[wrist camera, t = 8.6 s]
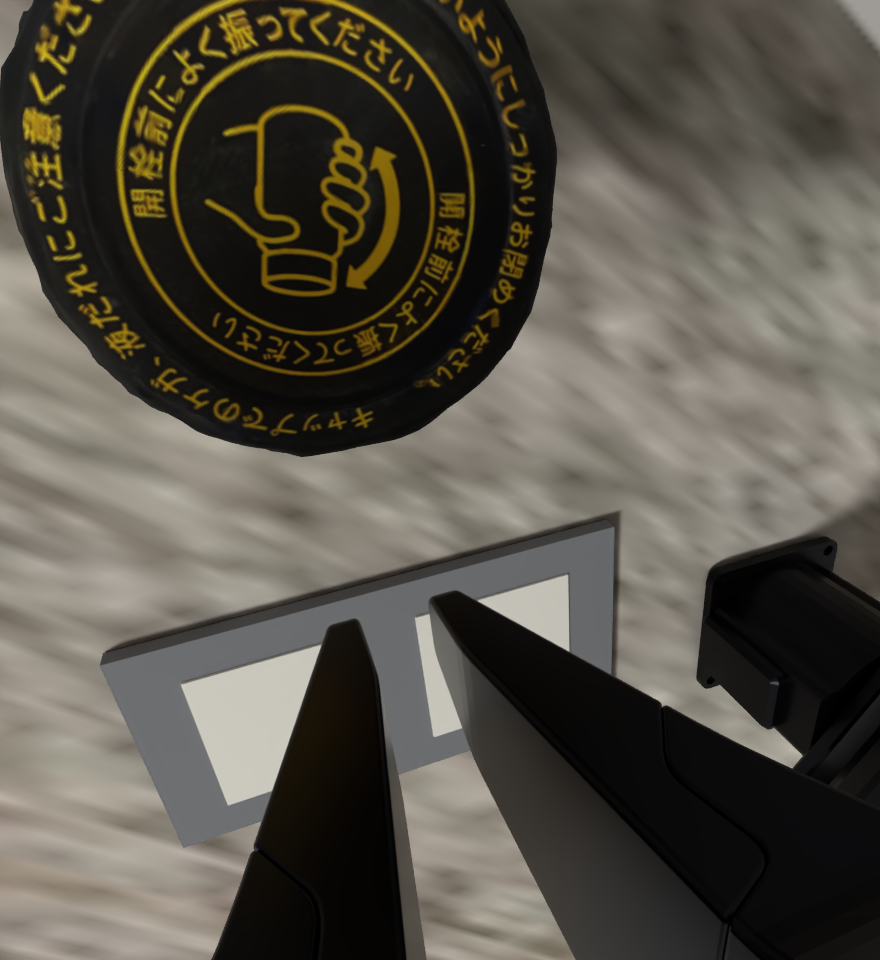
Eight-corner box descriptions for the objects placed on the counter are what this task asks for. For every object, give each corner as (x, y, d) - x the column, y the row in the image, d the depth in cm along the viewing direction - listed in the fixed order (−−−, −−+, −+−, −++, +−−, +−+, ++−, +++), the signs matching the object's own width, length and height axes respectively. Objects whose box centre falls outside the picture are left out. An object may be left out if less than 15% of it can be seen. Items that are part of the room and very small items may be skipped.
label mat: (606, 519, 24) (615, 528, 23) (603, 692, 28) (611, 704, 27) (103, 653, 20) (99, 668, 19) (184, 833, 24) (183, 850, 23)
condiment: (45, 135, 14) (-435, -16, 4) (351, -63, 15) (662, -703, 4) (245, 389, 18) (270, 659, 8) (487, 227, 18) (837, 273, 8)
